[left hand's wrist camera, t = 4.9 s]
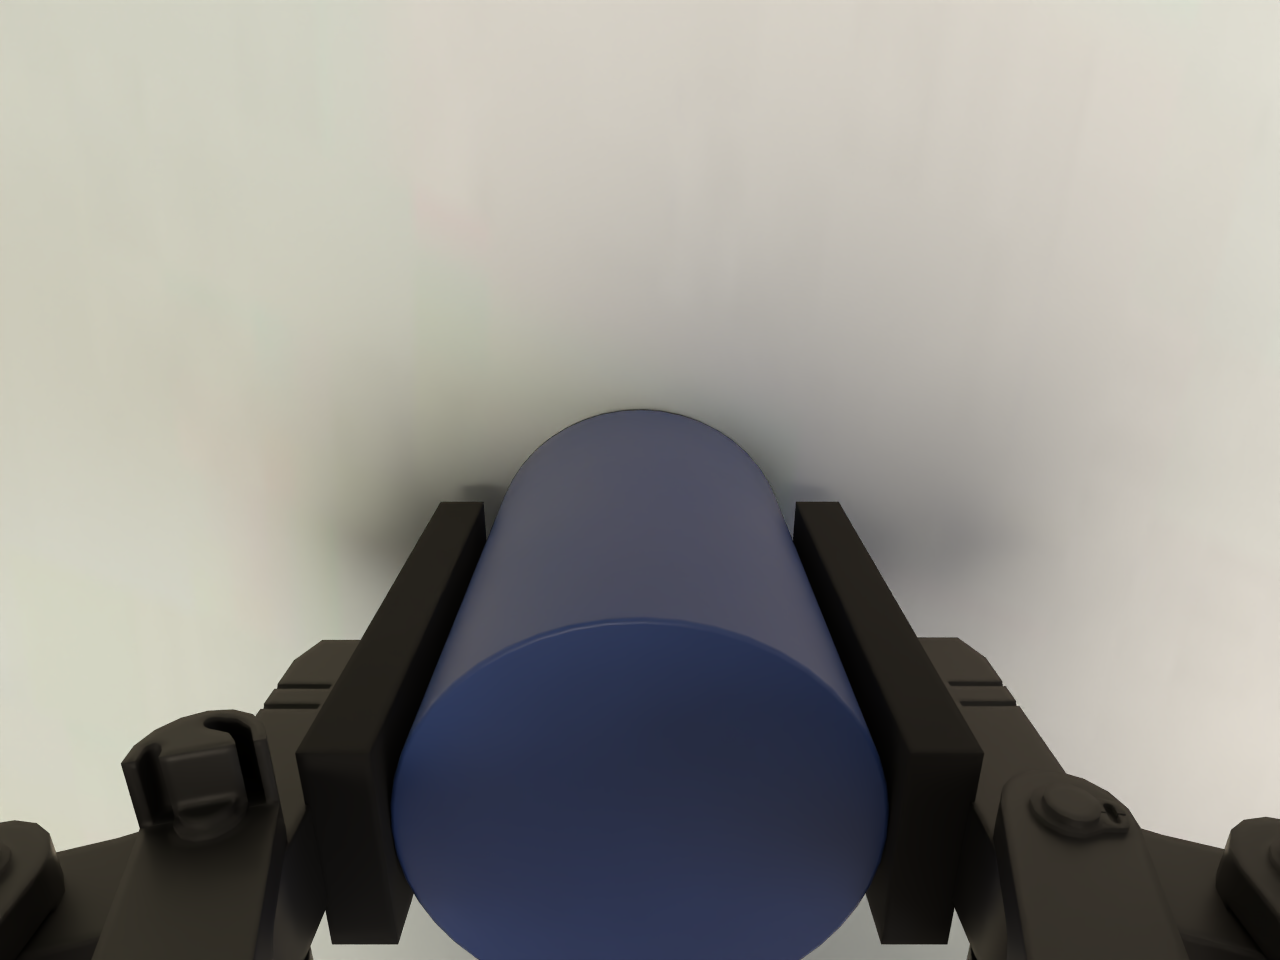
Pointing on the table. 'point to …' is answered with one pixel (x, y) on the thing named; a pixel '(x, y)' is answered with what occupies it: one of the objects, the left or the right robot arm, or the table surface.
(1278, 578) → the table surface
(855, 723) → the can
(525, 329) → the table surface
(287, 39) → the table surface
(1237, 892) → the left robot arm
